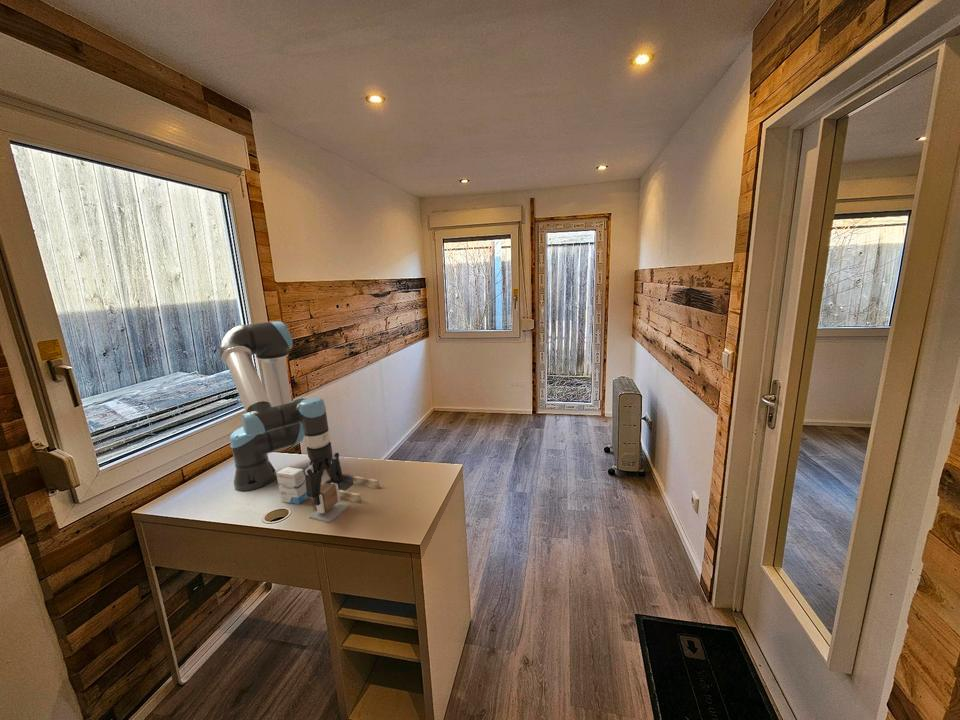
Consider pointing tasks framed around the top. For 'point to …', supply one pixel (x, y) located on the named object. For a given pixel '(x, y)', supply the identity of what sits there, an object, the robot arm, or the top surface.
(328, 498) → the walnut block
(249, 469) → the robot arm
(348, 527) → the top surface
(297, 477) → the ink box
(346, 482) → the channel
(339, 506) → the slate pad
